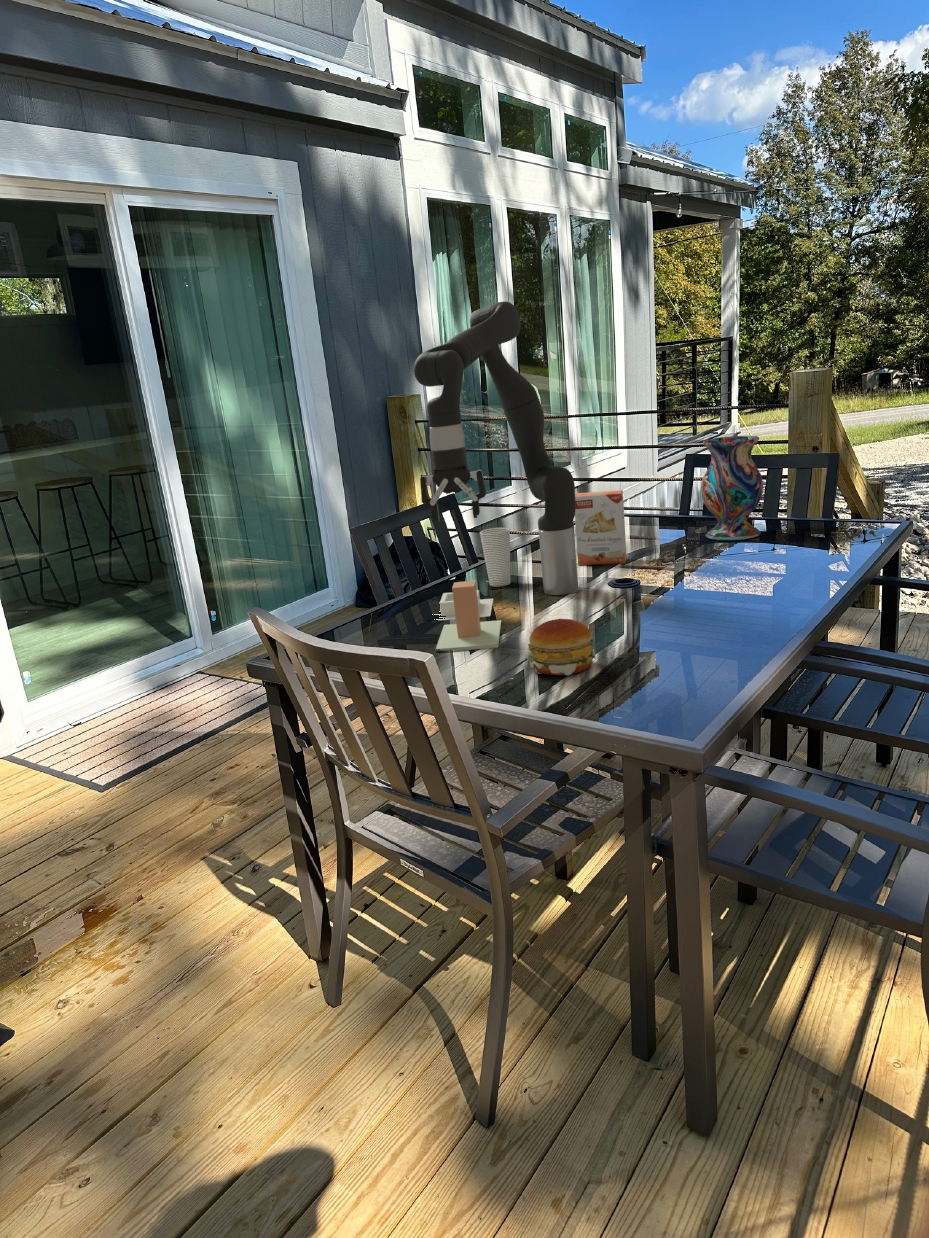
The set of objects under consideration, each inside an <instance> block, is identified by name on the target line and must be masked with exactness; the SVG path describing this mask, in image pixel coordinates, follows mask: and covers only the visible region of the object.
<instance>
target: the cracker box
mask: <svg viewBox="0 0 929 1238" xmlns="http://www.w3.org/2000/svg"><path fill="white" fill-rule="evenodd" d="M575 507H576V511H575V517H574V522H575V524H574V525H575V536H576V538H575V539H576V540H575V541H576V554H577V563H578V564H577V565H578V566H587V565H589V566H590V565H591V566H592V565H609V564H610V565H612V564H614V565H615V564H626V561H627V544H626V543H627V541H626V524H625V521H626V520H625V505H624V491H623V489H622V490H621V489H620V490H608V491H607V490H605V491H592V492H577V493H576V492H575Z"/></svg>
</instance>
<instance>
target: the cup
mask: <svg viewBox="0 0 929 1238" xmlns="http://www.w3.org/2000/svg"><path fill="white" fill-rule="evenodd" d="M510 531H511V530H510V528H508V527H500V526H499V527H489V528H485V529H482V530H480V531H479V536H480V541H481V547H482V551H483V557H484V561H485V567H486V568H485V569H486V572H487V577H488V582H489V586H490V587H497V588H499V587H504V586H508V585H510V584H511V545H510V544H511V543H510V542H511V540H510V539H511V537H510V535H511V532H510Z"/></svg>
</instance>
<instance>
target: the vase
mask: <svg viewBox="0 0 929 1238" xmlns="http://www.w3.org/2000/svg"><path fill="white" fill-rule="evenodd" d="M759 440H760V437H759V436H757V435H734V436H733V435H730V436H722V437H715V438H709V439H705V440H703V442H702V444H703V445H704V446H705V448H706V449H707V450H708V451H709V454H710V459H711V461H710V463H709V465H708V467H707V469H706V471H705V473H704V475H703V477H702V479H701V480H702V481H701V487H700V490H701V498H702V500H703V504H704V505H705V506H706V508H707V510H708V511H709V512H710V513H711V514H712V515H713V516H714V517H715V519H716V521H717V522H718V523H717V524H716V525H715V526H714V527H713V528H712V529H710V530H708V532H707V533H705V537H706V539H707V538H708V539H711V540H716V541H739V540H741V541H742V540H748V539H753V538H756V537H758V536H760V535H761V534H762V532H761V531H760V530H759V529H758V528H756V527H755V526H753V525H751V524H750V522H749V521H748V519H749V517H750V516H751V515H752V513H753V512H754V511H755V509H756V508H757V507H758V505H759V503H760V502H761V500H762V497H763V492H764V481H763V476H762V474H761V472H760V470H759V468H758V467H757V465H756V463H755V462H754V460H753V458H752V450H753V448H754V447H755V445H756V444H757V442H759Z"/></svg>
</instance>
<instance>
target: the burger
mask: <svg viewBox="0 0 929 1238" xmlns="http://www.w3.org/2000/svg"><path fill="white" fill-rule="evenodd" d="M529 635H530V636H529V643H528V644H527V646H528V647H527V649H528V650H529V651H530V654H529V656H528V658H529V665H530V668H531V669H535V670H536V671H537V672H539V673H541V674H546V675H549V676H550V675H551V676H571V675H573V674H576V673H580V672H582V670H583V671H586V668H587V669H588V668H590V666H591V664H592V662H593V659H596V657H597V656H596V652H595V651H594V650H593V644H594V642H593V639H592V638H593V634H592V632H591V630H590V628H588V626H587V625H586V624H584V623H583V622H580V621H578V620H574V619H571V618H557V619H551V620H547V621H545V622H543V623H542V622H541V624H539V625H538V626H536V627H535V628H534V629H533V630H532V632H531V634H529Z"/></svg>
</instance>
